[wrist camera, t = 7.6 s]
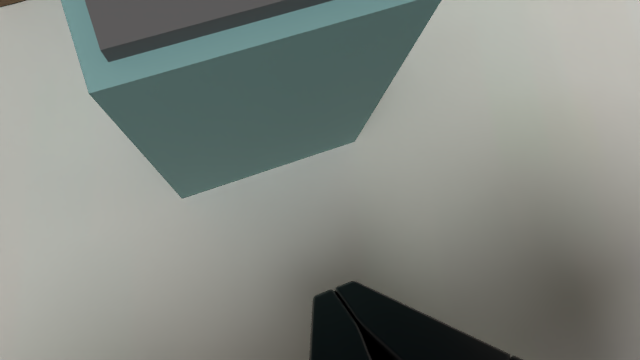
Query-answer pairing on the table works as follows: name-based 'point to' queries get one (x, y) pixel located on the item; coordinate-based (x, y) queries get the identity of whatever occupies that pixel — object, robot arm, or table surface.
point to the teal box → (240, 77)
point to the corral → (8, 2)
